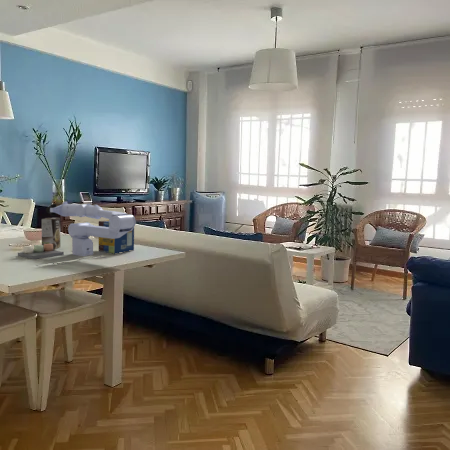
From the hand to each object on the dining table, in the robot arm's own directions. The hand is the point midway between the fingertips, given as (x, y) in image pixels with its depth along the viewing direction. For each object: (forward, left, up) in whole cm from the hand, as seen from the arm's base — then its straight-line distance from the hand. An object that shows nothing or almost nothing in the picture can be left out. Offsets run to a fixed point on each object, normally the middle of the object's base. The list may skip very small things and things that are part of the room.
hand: (53, 209), depth 221 cm
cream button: (-9, +19, -18) cm, 27 cm away
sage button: (-9, +14, -18) cm, 24 cm away
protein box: (-21, -22, -21) cm, 36 cm away
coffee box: (+3, -1, -21) cm, 21 cm away
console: (-11, +14, -20) cm, 27 cm away
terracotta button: (-9, +9, -18) cm, 22 cm away
